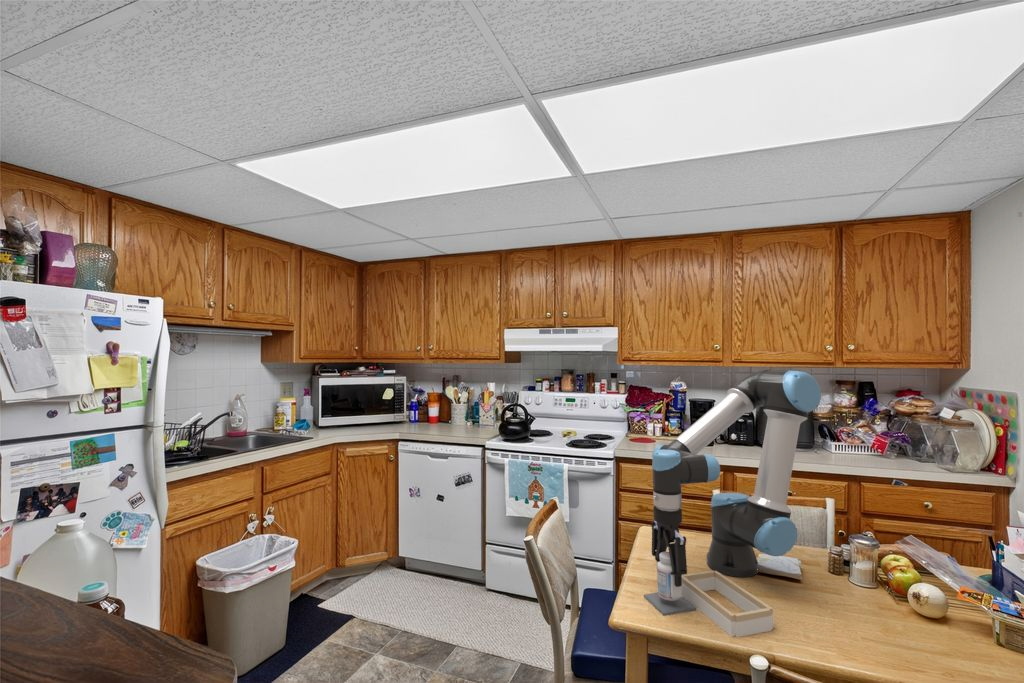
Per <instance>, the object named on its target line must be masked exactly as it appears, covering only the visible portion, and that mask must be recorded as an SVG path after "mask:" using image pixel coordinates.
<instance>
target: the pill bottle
mask: <svg viewBox="0 0 1024 683" xmlns="http://www.w3.org/2000/svg"><path fill="white" fill-rule="evenodd" d="M659 559H660V561H659V562H658V564H657V563H656V577H657V578H656V580H658V585H657V592H658V594H659V596H660V597H661V598H663V599H665V600H670V601H675V600H678V599H679V598H680V597H678V598H672V597H671V573H670V572H673V571H672V566H671V560H670V555H669V551H666V552H661V553H660V554H659Z"/></svg>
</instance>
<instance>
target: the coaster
mask: <svg viewBox="0 0 1024 683" xmlns="http://www.w3.org/2000/svg"><path fill="white" fill-rule="evenodd" d="M643 598H644V599H645V600H646V601H647V602H649V603H650V604H651V605H652V606H653V607H654V608H655V609H656V610H657V611H658V612H659V613H660V614H661V615H662V616H670V615H675V614H680V613H686V612H687V613H688V612H691V611H692V612H693V611H697V608H696V607H695V606H694V605H693V604H692V603H690V602H689V601H688V600H687V599H686V598H684V597H683V596H682V597H680V598H679V599H678V600H675V601H670V600H665V599H663V598H661V597H660V596H659V594H658V591H656V592H652V593H645V594H643Z"/></svg>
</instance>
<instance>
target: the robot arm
mask: <svg viewBox="0 0 1024 683" xmlns="http://www.w3.org/2000/svg"><path fill="white" fill-rule="evenodd" d="M726 392H727V393H726V394H727V395H726V396H725V397H723V398H722V399H721V400H720V401H719V402H717V403H716V404H715V405H714V406H713V407H711V408H710V409H709V410H708V411H706V413H704V414H702V416H701V417H699V418H698V419H697V420H696V421H695V422H694V423H693V424H691V425H690V426H689V427H688V428H687V429H685V430H684V431H683V432H682V433H681V434H680V435H678V436H677V437H676V438H675V439H674V440H672V441H671V442H670V443H669V444H659V445H658V446H656V447H655V448H654V449H653V450H652V451H653V452H652V456H651V457H652V460H651V461H652V462H651V463H652V465H651V469H652V491H653V492H652V495H653V496H652V499H653V500H652V501H653V505H654V506H653V508H652V509H653V510H652V511H653V521H650V525H651V555H652V557H654V559H655V561H656V565H657V564H658V562H659V561H660V559H659V554H660V553H661V552H667V549H668V552H669V555H670V560H671V566H672V571H673V572H670V573H671V597H672V598H678V597H682V595H681V586H682V575H685V574H688V568H687V567H688V566H687V552H686V551H687V550H686V549H687V548H686V545H687V538H686V536H682V535H681V534H680V528H679V526H680V524H682V521H683V510H682V509H681V508H682V507H683V505H682V504H683V502H682V485H690V484H692V485H693V484H702V483H705V484H708V483H709V482H715V481H717V480H718V479H719V478H720V476H721V475H720V474H721V466H720V463H719V460H718V459H717V458H716V457H715V456H714V455H712V454H704V453H703V454H699V453H700V452H701V451H702V450H703V449H705V448H706V447H707V446H708V445H710V444H711V443H712V442H713V441H714V440H715V439H716V438H718V437H719V436H720V435H721V434H722V433H724V431H726V430H727V429H728V428H729V427H730V426H731V425H733V424H735V422H736V421H738V420H739V419H740V418H741V417H742V416H744V414H748V413H752V412H753V411H755V410H756V409H757V408H761V407H763V412H764V413H765V415H766V416H767V420H766V426H765V431H764V438H763V443H762V448H761V453H760V459H759V464H758V468H757V474H756V476H757V477H756V482H755V487H754V492H753V495H751V496H750V495H748V494H745V493H739V492H721V493H715V494H714V495H713V496H711V504H710V513H711V514H710V516H711V542H710V545H709V549H708V552H707V554H706V564H707V566H708V567H709V568H710V569H711V570H712V571H717V572H719V573H720V574H722V575H724V576H725V575H727V576H730V577H734V578H735V577H736V578H748V577H753V576H756V575H757V574H759V571H758V570H759V562H758V559H757V555H756V554H755V549H756V550H757V551H758V552H760V553H764V554H766V555H768V556H771V557H780V556H783V555H786V554H787V553H788V552H790V551H791V550H793V548H794V546H795V545H796V543H797V539H798V528H796V524H795V523H794V522H793V521H792V519H791V514H792V511H791V509H790V507H789V506H788V504H787V501H788V497H789V496H788V495H789V491H790V490H789V489H790V483H791V478H792V473H793V467H794V463H795V462H794V461H795V455H796V450H797V449H796V448H797V445H798V439H799V432H800V426H801V424H802V423H803V422H805V421H807V420H808V418H809V417H808V416H809V413H810V412H813V411H815V410H816V409H817V408H818V407H819V406H820V403H821V401H822V391H821V388H820V385H819V383H818V382H817V379H815V377H813V376H812V374H809V373H808V372H805V371H798V370H793V369H792V370H785V369H783V370H776V369H774V370H773V369H761V370H758V371H755V372H753V373H750V374H749V375H746V376H745V377H743V378H742V379H741V380H739V381H737V382H736V383H735V384H733V385H732V386H731V387H730V388H729V389H727V391H726ZM757 569H758V570H757ZM656 580H657V579H656ZM656 584H657V586H658V580H657V582H656Z"/></svg>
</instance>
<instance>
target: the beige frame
mask: <svg viewBox="0 0 1024 683" xmlns="http://www.w3.org/2000/svg"><path fill="white" fill-rule="evenodd" d="M712 590H713V591H714V590H715V591H717V592H718V594H721V596H723V597H724V598H726V599H727V600H729V601H730V602H731V603H733V604H734V605H736V606H737V607H738V608H740V609H741V610H742V611H743V612H738V613H737V612H736V613H733V612H732V611H730V610H729V609H727V608H726V607H725V606H723V605H722V604H721V603H719V602H718V601H717V600H716V599H715V598H713V597H711V596H710V595H709V594H708V593H706V591H707V592H708V591H712ZM681 595H682V596H683V597H684V598H685V599H686V600H688V601H689V602H690V603H691V604H692V605H694V606H695V607H696V609H697V610H698V611H700V612H701V613H702V614H704V615H705V616H706V617H707V618H709V620H711V621H712V622H713V623H714V624H716V625H717V626H718V627H719V628H720V629H722V630H723V631H724V632H725V633H726V634H727V635H729V636H730V637H736V638H741V637H745V636H752V635H755V634H761V633H766V632H771V631H772V630H773V629H774V610H773V609H774V608H773V607H771V606H770V605H769V604H767V603H765V602H764V601H763V600H761V599H759V598H758V597H757V596H756V595H754V594H752V593H750V592H749V591H747V590H746V589H744V588H743V587H742V586H740V585H739V584H737V583H735V582H734V581H732V580H731V579H730V578H728V577H727V576H725V575H724V574H722V573H719V572H717V571H715V570H707V571H700V572H693V573H687V574H684V575H682V586H681Z"/></svg>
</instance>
